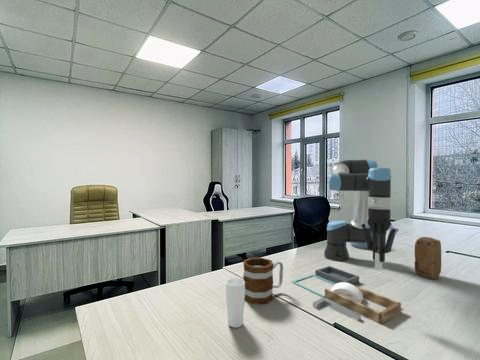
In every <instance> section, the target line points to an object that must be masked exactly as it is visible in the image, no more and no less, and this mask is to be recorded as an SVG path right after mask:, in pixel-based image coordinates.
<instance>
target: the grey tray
mask: <svg viewBox="0 0 480 360" xmlns="http://www.w3.org/2000/svg"><path fill="white" fill-rule="evenodd" d="M314 273H315V274H314V275H316V276H319V277H321V278H324V279H326V280H329V281H331V282H334V283H336V284H337V283H341V282H347V283H350V284H353V285H356V284H358V283H360V276H359V275H356V274H354V273H351V272H348V271H345V270H342V269H339V268H337V267H334V266H331V265H327V266H325V267H321V268H318V269H315V272H314Z"/></svg>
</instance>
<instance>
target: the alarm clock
mask: <svg viewBox="0 0 480 360" xmlns="http://www.w3.org/2000/svg"><path fill="white" fill-rule="evenodd" d="M349 243H350V244H351V247H352V248H356V249H360V250H366V251H367V250H368V251H371V250H370V249H368V247H367V244H362V243H352V242H349Z"/></svg>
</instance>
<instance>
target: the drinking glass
mask: <svg viewBox="0 0 480 360" xmlns="http://www.w3.org/2000/svg"><path fill="white" fill-rule="evenodd" d="M225 297H226V300H225V301H226V307H227V308H226V310H227V324H228V326H229V327H231V328H234V329H235V328H241V327H242V326H243V325H244V312H245V302H246V301H245V281H244V280H243V278H237V277H235V278H234V277H233V278H230V279H228V280H226V282H225Z"/></svg>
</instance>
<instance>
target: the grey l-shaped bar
mask: <svg viewBox="0 0 480 360" xmlns="http://www.w3.org/2000/svg"><path fill="white" fill-rule="evenodd" d="M322 305H323V306H325V307H328V306H329V308H330V307H331V308H330V309H332V308H333V310H334V309H335V310H334V311H336V310H338V311H340V312H339V313H341V312H342V313H341V314H343V313H344V314H343V315H345V314H346V315H345V316H347V315H348V316H347V317H349V316H351V317H353V318H355V319H357V320H359V321H360V320H362V317H361V316H362V315H361V314H359V313H357V312H355V311H353V310H350V309H348V308H346V307H344V306H342V305H340V304H338V303H336V302H334V301H332V300H330V299H327V298H325V297H324V298H323V297H321V298H319V299H317V300H315V301H313V302H312V307H313V308H315V309H316V308H317V309H318V307H319V308H321V307H323V306H322ZM320 306H321V307H320ZM338 311H337V312H338ZM351 317H350V318H351ZM353 318H352V319H353ZM355 319H354V320H355ZM357 320H356V321H357Z"/></svg>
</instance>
